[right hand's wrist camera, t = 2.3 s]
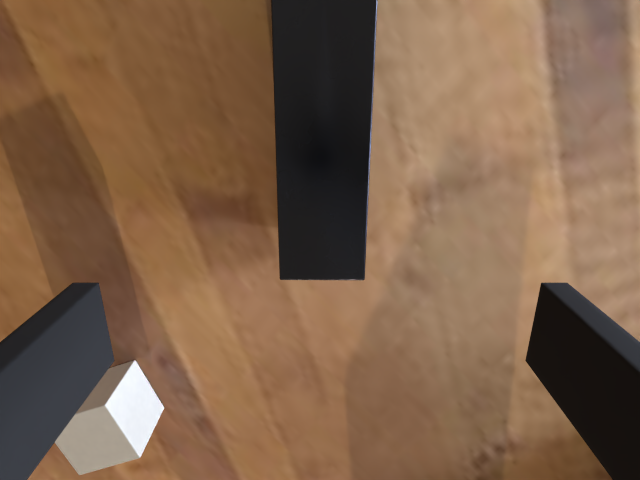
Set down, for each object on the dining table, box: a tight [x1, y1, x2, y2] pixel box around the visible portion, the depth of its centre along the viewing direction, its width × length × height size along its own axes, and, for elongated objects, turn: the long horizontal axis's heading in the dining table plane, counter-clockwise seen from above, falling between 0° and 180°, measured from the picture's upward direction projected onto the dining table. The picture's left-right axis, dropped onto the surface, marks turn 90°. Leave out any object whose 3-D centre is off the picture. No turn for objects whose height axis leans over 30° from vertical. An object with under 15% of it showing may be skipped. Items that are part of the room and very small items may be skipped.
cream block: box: [55, 360, 164, 475], centre depth 32 cm, size 5×5×5 cm
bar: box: [271, 0, 377, 280], centre depth 21 cm, size 26×4×8 cm, turn 0°
